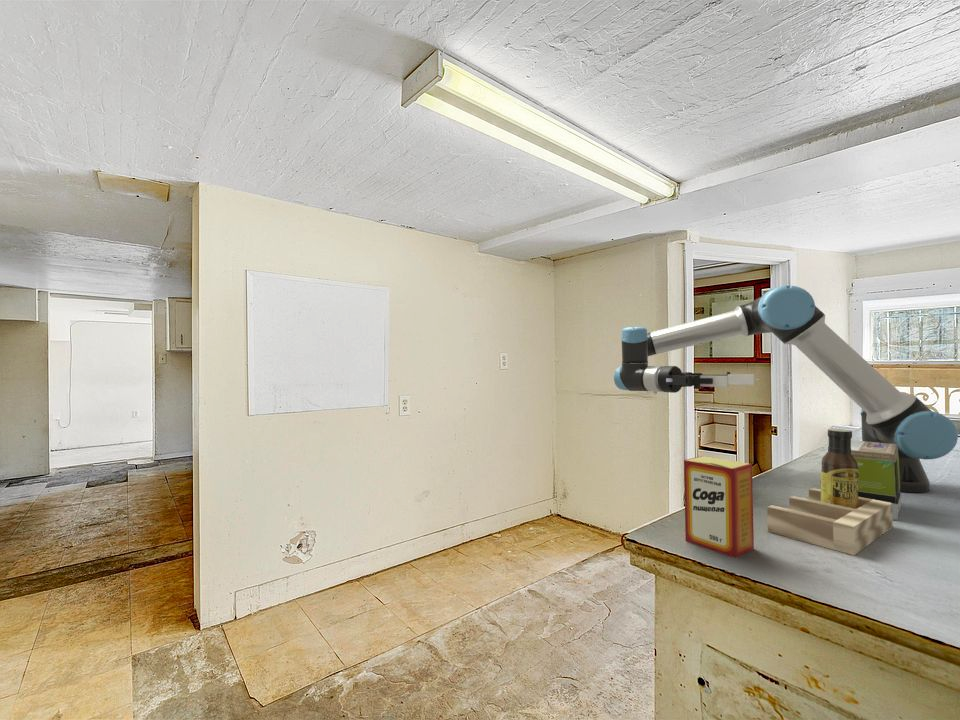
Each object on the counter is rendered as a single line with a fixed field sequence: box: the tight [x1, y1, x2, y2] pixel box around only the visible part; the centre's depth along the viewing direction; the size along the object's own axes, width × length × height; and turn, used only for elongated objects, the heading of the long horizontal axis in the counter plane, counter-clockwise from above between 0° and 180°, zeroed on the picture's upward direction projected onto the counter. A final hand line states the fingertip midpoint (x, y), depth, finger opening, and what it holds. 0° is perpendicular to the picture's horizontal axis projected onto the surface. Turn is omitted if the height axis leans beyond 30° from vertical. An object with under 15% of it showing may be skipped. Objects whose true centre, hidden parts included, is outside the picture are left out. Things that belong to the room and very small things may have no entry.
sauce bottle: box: [820, 428, 859, 509], centre depth 95 cm, size 6×6×20 cm
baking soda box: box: [683, 455, 755, 558], centre depth 85 cm, size 10×6×16 cm
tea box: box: [851, 440, 902, 521], centre depth 104 cm, size 15×10×15 cm
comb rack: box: [766, 487, 894, 556], centre depth 91 cm, size 23×14×5 cm, turn 125°
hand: (741, 380), depth 111 cm, fingers open, 13 cm apart
